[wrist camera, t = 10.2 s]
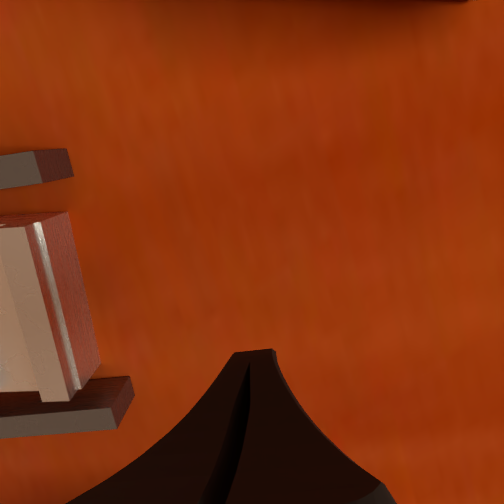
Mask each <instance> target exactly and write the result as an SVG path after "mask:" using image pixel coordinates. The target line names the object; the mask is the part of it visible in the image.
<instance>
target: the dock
mask: <svg viewBox="0 0 504 504" xmlns="http://www.w3.org/2000/svg"><path fill="white" fill-rule="evenodd" d="M73 176H74V174H73V171H72V167H71V164H70V160H69V156H68V153H67V149H52V150H38V151H29V152H22V153H16V154H9V155H3V156H0V189H5V188H12V187H18V186H25V185H32V184H39V183H45V182H49V181H54V180H59V179H63V178H68V177H73ZM134 396H135V395H134V391H133V387H132V384H131V380H130V377H129V376H126V377H115V378H105V379H94V380H88V381H87V383H86V384H85V385H84V387H83V388H82V389H78V391H77V392H76V393H75V395H74V396H73V397H72V399H71V400H70V401H54V402H42V400H41V396H40V393H39V391H17V392H0V439H1V438H13V437H25V436H37V435H50V434H62V433H74V432H86V431H98V430H110V429H117V428H118V426H119V424H120V422H121V420H122V419H123V417H124V415H125V413H126V411H127V409H128V407H129V405H130V403H131V401H132V400H133V398H134Z"/></svg>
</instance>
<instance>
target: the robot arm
mask: <svg viewBox="0 0 504 504" xmlns="http://www.w3.org/2000/svg"><path fill="white" fill-rule="evenodd" d="M66 504H397V503H396V502H395V500H394V499H393V497H392V495H391V494H390V492H389V491H388V489H387V488H386V486H385V485H384V484H383V483H382V482H381V481H379V480H378V479H376V478H375V477H374V476H372V475H371V474H369V473H368V472H366V471H365V470H364V469H362V468H361V467H360V466H358V465H357V464H356V463H355V462H353V461H352V460H351V459H350V458H349V457H348V456H346V455H345V454H344V453H343V452H342V451H341V450H340V449H339V448H338V447H337V446H336V445H335V444H334V443H333V442H331V441H330V440H329V439H328V438H327V437H326V436H325V435H324V434H323V433H322V431H321V430H320V429H319V428H318V427H317V426H316V425H315V424H314V422H313V421H312V420H311V419H310V417H309V416H308V415H307V414H306V412H305V411H304V410H303V408H302V407H301V405H300V404H299V403H298V401H297V399H296V398H295V396H294V395H293V393H292V392H291V390H290V388H289V386H288V384H287V383H286V381H285V379H284V377H283V375H282V373H281V370H280V368H279V365H278V362H277V356H276V351H274V350H273V349H263V350H253V351H244V352H235V353H234V354H233V355H232V356H231V357H230V359H229V360H228V362H227V363H226V365H225V366H224V368H223V369H222V371H221V372H220V374H219V375H218V376H217V378H216V379H215V380H214V382H213V383H212V384H211V386H210V387H209V389H208V390H207V391H206V392H205V394H204V395H203V396H202V397H201V399H200V400H199V401H198V402H197V403H196V405H195V406H194V407H193V408H192V409H191V410H190V412H189V413H188V414H187V415H186V416H185V417H184V418H183V419H182V420H181V421H180V422H179V423H178V424H177V425H176V426H175V427H174V428H173V429H172V430H171V431H170V432H169V433H167V434H166V435H165V436H164V437H163V438H162V439H160V440H159V441H158V442H157V443H156V444H154V445H153V446H152V447H151V448H150V449H148V450H147V451H146V452H145V453H144V454H142V455H141V456H140V457H138V458H137V459H136V460H134V461H133V462H131V463H130V464H129V465H127V466H126V467H125V468H123V469H122V470H120V471H119V472H117V473H116V474H114V475H113V476H111V477H110V478H108V479H107V480H105V481H103V482H102V483H100V484H99V485H97V486H95V487H93V488H92V489H90V490H88V491H87V492H85V493H83V494H81V495H80V496H78V497H76V498H75V499H73V500H71V501H69V502H68V503H66Z"/></svg>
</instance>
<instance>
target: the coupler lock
mask: <svg viewBox="0 0 504 504" xmlns="http://www.w3.org/2000/svg"><path fill="white" fill-rule="evenodd" d="M100 364H101V360H100V356H99V351H98V347H97V342H96V338H95V333H94V329H93V324H92V320H91V315H90V310H89V306H88V301H87V297H86V292H85V288H84V283H83V279H82V274H81V270H80V265H79V261H78V256H77V252H76V247H75V243H74V238H73V233H72V229H71V224H70V220H69V215H68V211H67V212H52V213H37V214H22V215H7V216H0V392H17V391H39V393H40V396H41V400H42V402H54V401H70V400H71V399H72V397H73V396H74V395H75V393H76V392H77V391H78V389H82V388H83V387H84V385H85V384H86V383H87V381H88V380H89V379H90V377H91V376H92V375H93V373H94V372H95V371H96V369H97V368H98V366H99V365H100Z"/></svg>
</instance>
